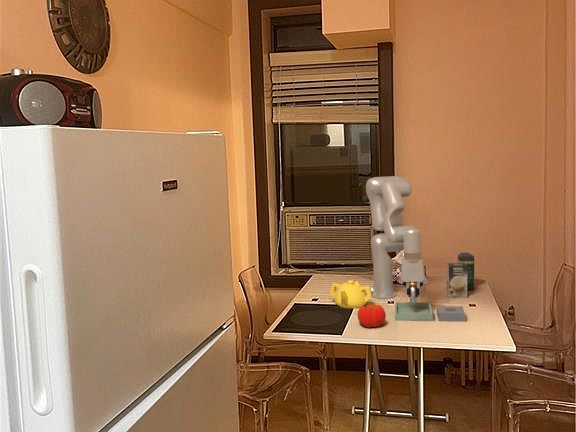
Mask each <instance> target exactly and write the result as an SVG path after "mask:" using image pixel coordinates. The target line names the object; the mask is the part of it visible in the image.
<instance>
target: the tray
mask: <svg viewBox="0 0 576 432" xmlns="http://www.w3.org/2000/svg"><path fill="white" fill-rule="evenodd" d="M433 316H434V315H433V309H432V305H431V302H427V301H426V302H423V301H422V302H419V301H416V305H410V301H409V302H408V301H407V302H406V301H405V302H404V301H398V302H397V301H395V302H394V321H399V322H400V321H405V322H406V321H410V322H415V321H416V322H417V321H418V322H420V321H421V322H433Z"/></svg>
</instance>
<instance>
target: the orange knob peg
mask: <svg viewBox="0 0 576 432" xmlns="http://www.w3.org/2000/svg"><path fill="white" fill-rule="evenodd" d="M416 286H417V282H409V287H410V297H409V302H410V305H416V302H417V297H416Z"/></svg>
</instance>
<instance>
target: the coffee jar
mask: <svg viewBox="0 0 576 432" xmlns="http://www.w3.org/2000/svg"><path fill="white" fill-rule="evenodd" d="M457 263H465V264H466V265H467V291H471V290H474V289H475V256H474V254H472V253H469V252H460V253H458V254H457Z"/></svg>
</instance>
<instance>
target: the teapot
mask: <svg viewBox="0 0 576 432" xmlns="http://www.w3.org/2000/svg"><path fill="white" fill-rule="evenodd" d="M370 287H371V286H370V285H366V286H365V285H364V286H362V285H361V284H360V281H359V280H355V281H354V280H353V279H350V280H347V282H343V283H341V284H339V283H337V282H333V283H332V284H331V286H330V290H329V294H330V295H331V296H332V298H333V299H334V302H335V304H336V305H337V306H338V307H339V306H340V307H339V308H342V307H343V309H358V308H359V309H360V308H361V307H363V306H364V307H365V306H366V305H367V302H368V301H369V300H370V299H371V298H372V296H373V295H372V292H371V289H370ZM336 289H337V290H336ZM365 289H366V291H365Z"/></svg>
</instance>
